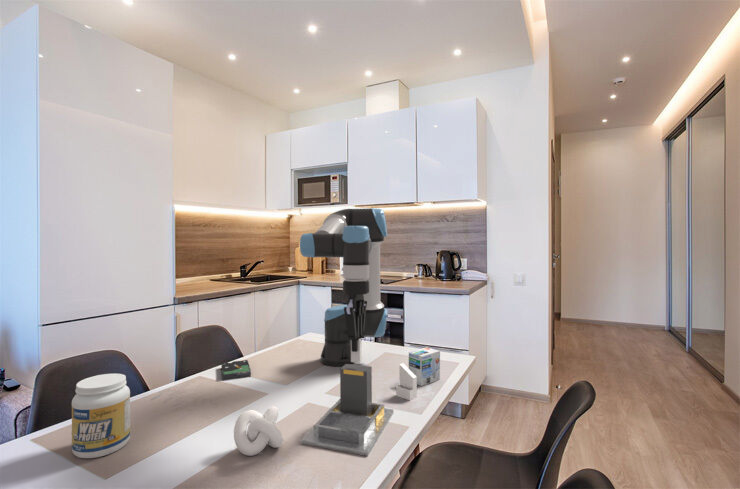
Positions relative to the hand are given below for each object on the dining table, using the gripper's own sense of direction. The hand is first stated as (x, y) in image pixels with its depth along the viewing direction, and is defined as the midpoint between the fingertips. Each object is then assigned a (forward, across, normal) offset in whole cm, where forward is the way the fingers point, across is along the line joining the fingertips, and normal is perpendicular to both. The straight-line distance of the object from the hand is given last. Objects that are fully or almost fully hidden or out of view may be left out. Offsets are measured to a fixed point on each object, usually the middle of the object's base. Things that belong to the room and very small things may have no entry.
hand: (356, 361), depth 110 cm
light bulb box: (+17, -37, +13) cm, 43 cm away
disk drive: (+18, -22, -59) cm, 65 cm away
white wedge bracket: (+17, -21, +10) cm, 29 cm away
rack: (+17, +4, 0) cm, 17 cm away
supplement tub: (+17, +33, -56) cm, 67 cm away
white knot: (+17, +20, -18) cm, 32 cm away
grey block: (+16, 0, 0) cm, 16 cm away
